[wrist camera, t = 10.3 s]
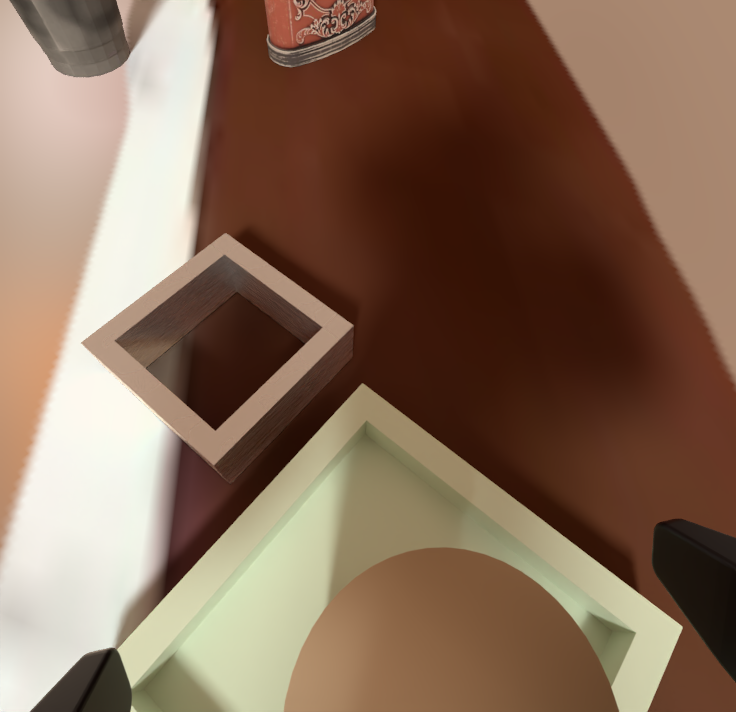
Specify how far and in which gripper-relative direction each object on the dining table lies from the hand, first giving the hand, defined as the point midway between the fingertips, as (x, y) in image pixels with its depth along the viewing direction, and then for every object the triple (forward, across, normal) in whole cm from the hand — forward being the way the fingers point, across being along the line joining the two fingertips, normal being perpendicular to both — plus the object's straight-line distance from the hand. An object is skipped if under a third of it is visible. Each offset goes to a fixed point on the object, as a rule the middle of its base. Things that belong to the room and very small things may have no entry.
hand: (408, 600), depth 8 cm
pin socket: (+13, +4, -1) cm, 14 cm away
